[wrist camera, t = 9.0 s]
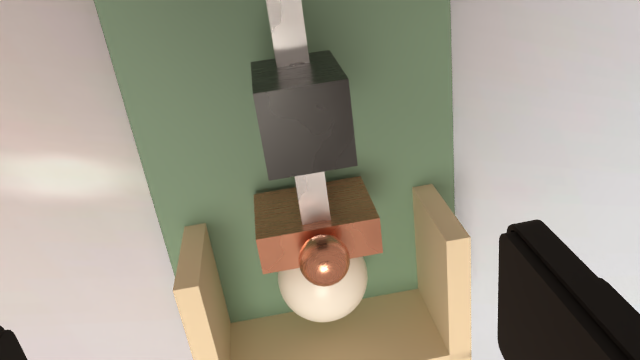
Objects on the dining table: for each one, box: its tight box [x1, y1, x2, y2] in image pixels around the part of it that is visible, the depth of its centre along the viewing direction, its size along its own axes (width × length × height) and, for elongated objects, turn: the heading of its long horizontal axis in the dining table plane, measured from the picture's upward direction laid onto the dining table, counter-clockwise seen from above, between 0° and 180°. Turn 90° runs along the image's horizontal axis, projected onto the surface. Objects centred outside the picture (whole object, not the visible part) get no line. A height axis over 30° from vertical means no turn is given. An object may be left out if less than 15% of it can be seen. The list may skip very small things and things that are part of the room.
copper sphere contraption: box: [251, 0, 383, 287], centre depth 25 cm, size 14×6×8 cm, turn 7°
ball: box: [278, 257, 368, 322], centre depth 31 cm, size 5×5×5 cm
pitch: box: [94, 0, 471, 360], centre depth 26 cm, size 32×17×7 cm, turn 7°
